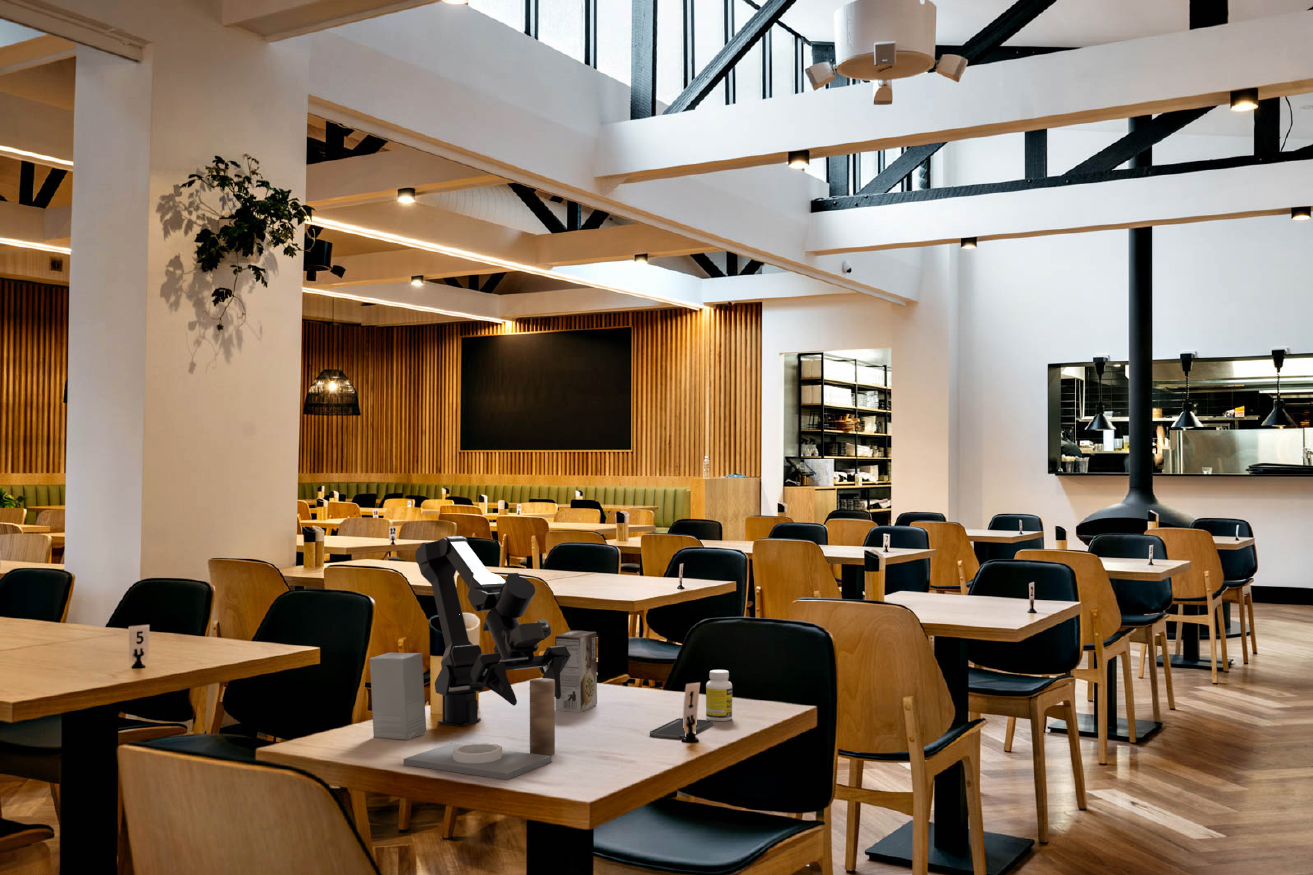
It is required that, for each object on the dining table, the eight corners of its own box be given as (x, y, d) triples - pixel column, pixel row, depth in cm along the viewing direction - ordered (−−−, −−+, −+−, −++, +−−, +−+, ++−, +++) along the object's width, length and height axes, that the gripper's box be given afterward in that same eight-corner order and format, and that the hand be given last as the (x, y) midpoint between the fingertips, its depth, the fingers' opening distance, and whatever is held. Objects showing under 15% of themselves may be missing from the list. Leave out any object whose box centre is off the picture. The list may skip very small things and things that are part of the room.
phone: (647, 732, 208) (679, 717, 221) (647, 738, 207) (679, 723, 221) (685, 736, 204) (715, 720, 218) (685, 742, 204) (715, 726, 218)
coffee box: (571, 702, 241) (571, 630, 242) (597, 704, 239) (597, 631, 240) (553, 710, 233) (553, 635, 234) (581, 712, 231) (581, 636, 232)
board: (403, 764, 187) (403, 749, 187) (451, 748, 199) (451, 734, 199) (507, 779, 177) (507, 764, 177) (551, 761, 188) (551, 747, 188)
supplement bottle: (730, 722, 220) (730, 673, 220) (704, 721, 221) (703, 672, 221) (734, 716, 225) (733, 669, 226) (708, 716, 226) (707, 668, 227)
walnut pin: (524, 754, 194) (524, 681, 194) (539, 749, 198) (539, 677, 198) (545, 757, 192) (545, 683, 192) (559, 752, 196) (559, 679, 196)
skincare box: (427, 734, 211) (427, 652, 212) (403, 742, 204) (404, 657, 205) (392, 730, 214) (392, 650, 215) (368, 738, 208) (368, 655, 209)
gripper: (477, 609, 196) (507, 678, 187) (565, 602, 207) (597, 667, 198) (458, 649, 202) (486, 718, 192) (544, 640, 213) (574, 705, 203)
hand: (537, 701), depth 196 cm, fingers open, 9 cm apart
